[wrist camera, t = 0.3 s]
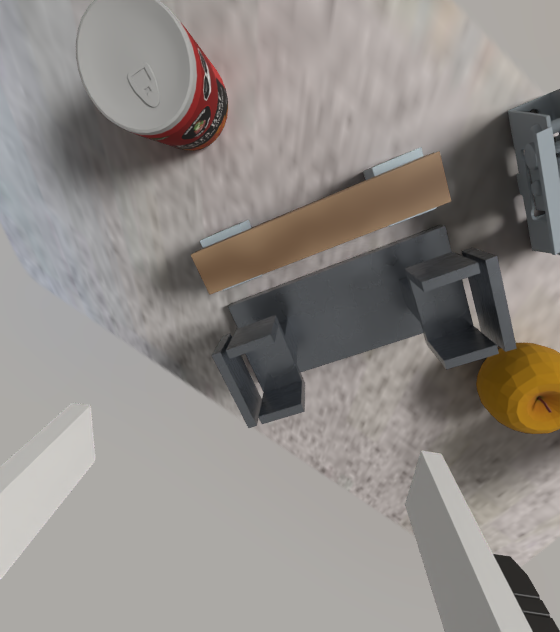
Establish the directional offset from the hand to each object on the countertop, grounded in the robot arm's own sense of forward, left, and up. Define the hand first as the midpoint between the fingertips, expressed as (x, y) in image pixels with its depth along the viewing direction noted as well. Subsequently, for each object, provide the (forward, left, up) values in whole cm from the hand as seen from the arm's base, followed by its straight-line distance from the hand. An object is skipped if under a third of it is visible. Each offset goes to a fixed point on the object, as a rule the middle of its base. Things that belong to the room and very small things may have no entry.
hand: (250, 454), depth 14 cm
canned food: (-20, -2, -25) cm, 32 cm away
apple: (+16, +19, -25) cm, 36 cm away
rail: (-6, +5, -20) cm, 22 cm away
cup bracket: (+4, +5, -25) cm, 26 cm away
